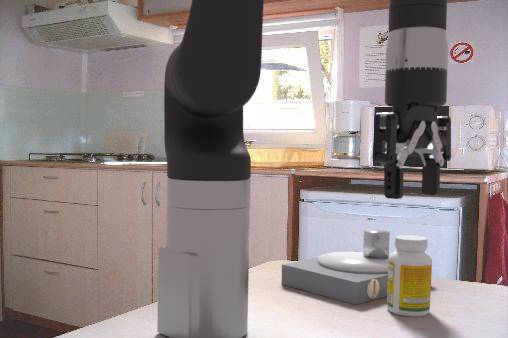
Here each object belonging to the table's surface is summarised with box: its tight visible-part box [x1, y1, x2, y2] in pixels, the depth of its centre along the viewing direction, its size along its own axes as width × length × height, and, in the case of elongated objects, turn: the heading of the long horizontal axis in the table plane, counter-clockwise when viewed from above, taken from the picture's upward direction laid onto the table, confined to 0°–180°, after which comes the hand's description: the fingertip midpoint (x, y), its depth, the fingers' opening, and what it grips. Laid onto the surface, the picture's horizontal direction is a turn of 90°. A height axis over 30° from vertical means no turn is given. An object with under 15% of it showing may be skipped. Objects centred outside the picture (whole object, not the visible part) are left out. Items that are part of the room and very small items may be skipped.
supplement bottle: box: [386, 234, 433, 318], centre depth 74 cm, size 5×5×10 cm
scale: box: [281, 250, 389, 306], centre depth 87 cm, size 18×14×4 cm
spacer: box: [362, 229, 391, 259], centre depth 91 cm, size 4×4×4 cm
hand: (412, 196), depth 73 cm, fingers open, 8 cm apart
